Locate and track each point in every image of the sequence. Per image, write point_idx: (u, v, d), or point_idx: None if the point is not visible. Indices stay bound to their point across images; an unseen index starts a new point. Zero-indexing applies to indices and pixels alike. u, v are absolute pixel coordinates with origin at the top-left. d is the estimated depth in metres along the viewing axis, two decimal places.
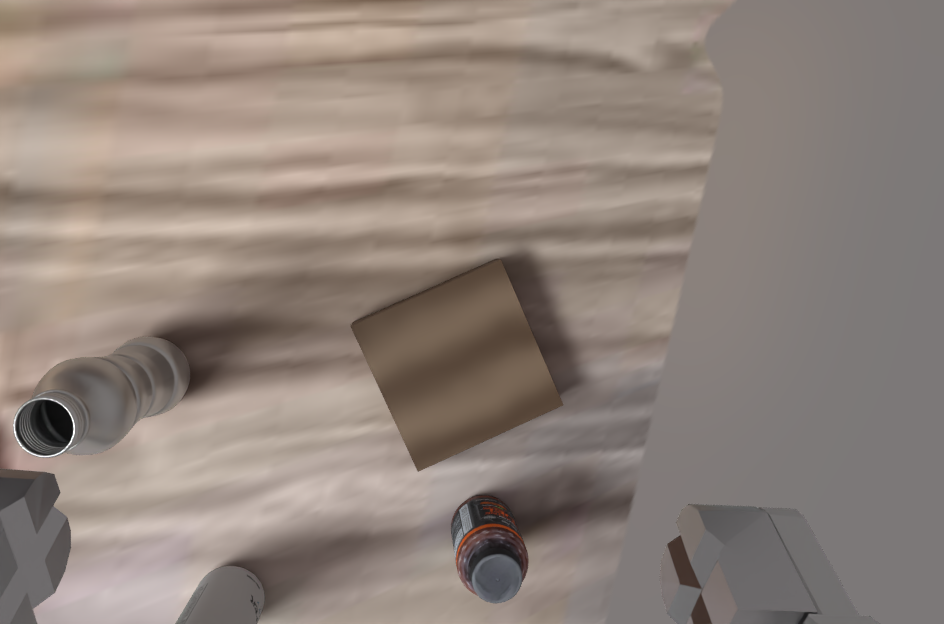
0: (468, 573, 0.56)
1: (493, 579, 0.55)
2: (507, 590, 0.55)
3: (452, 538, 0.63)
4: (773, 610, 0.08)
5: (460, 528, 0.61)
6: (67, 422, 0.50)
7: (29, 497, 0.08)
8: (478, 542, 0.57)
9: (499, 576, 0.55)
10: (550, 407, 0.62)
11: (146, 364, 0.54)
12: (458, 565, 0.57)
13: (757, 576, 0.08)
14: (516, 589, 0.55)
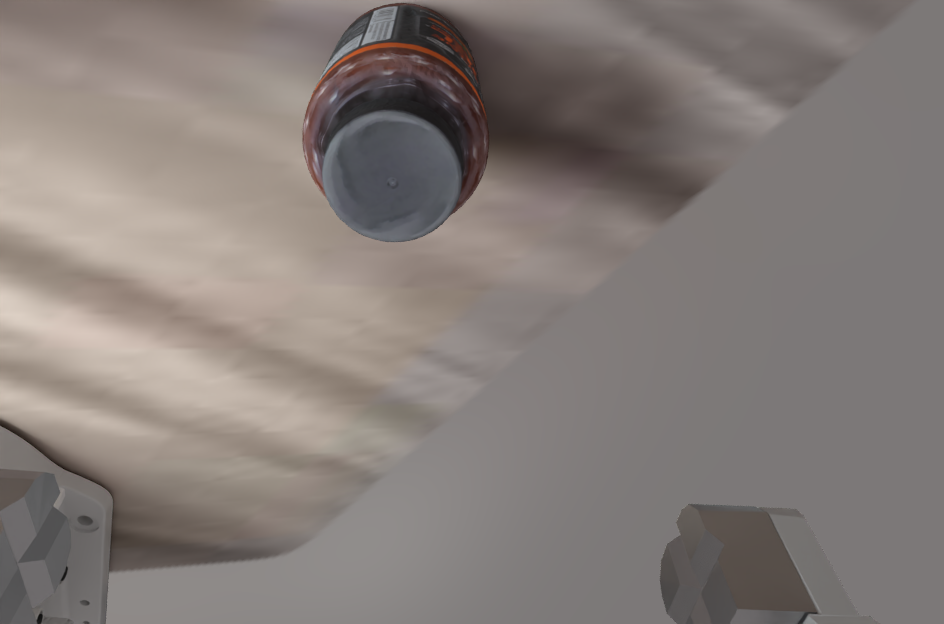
0: (327, 133, 0.21)
1: (382, 176, 0.20)
2: (402, 220, 0.21)
3: None
4: (773, 610, 0.08)
5: (358, 35, 0.24)
6: None
7: (29, 497, 0.08)
8: (389, 73, 0.20)
9: (400, 177, 0.20)
10: None
11: None
12: (312, 103, 0.21)
13: (757, 576, 0.08)
14: (424, 229, 0.21)
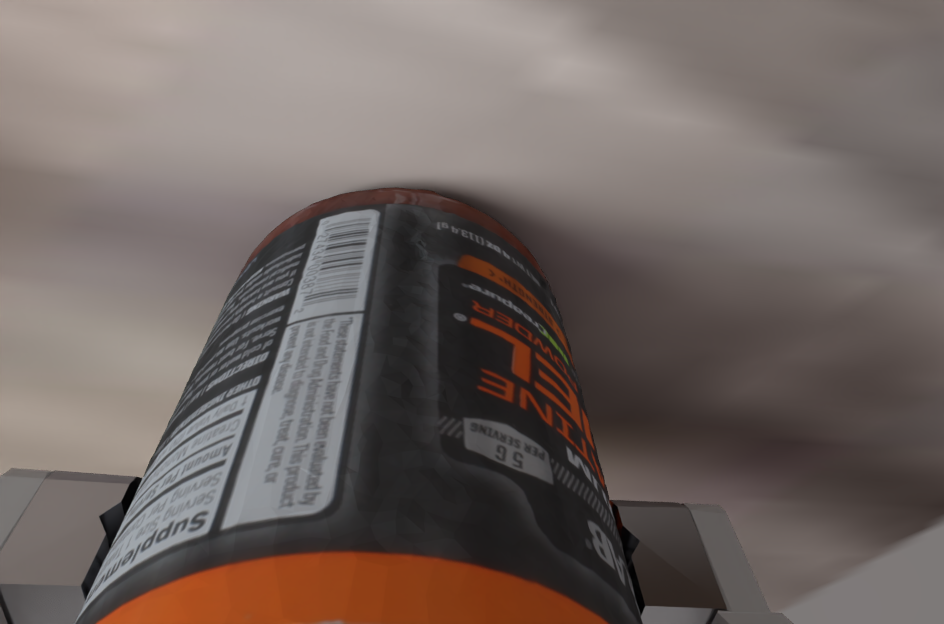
0: None
1: None
2: None
3: (200, 355, 0.10)
4: (682, 607, 0.08)
5: (246, 383, 0.08)
6: None
7: (124, 502, 0.08)
8: None
9: None
10: None
11: None
12: None
13: (670, 572, 0.08)
14: None
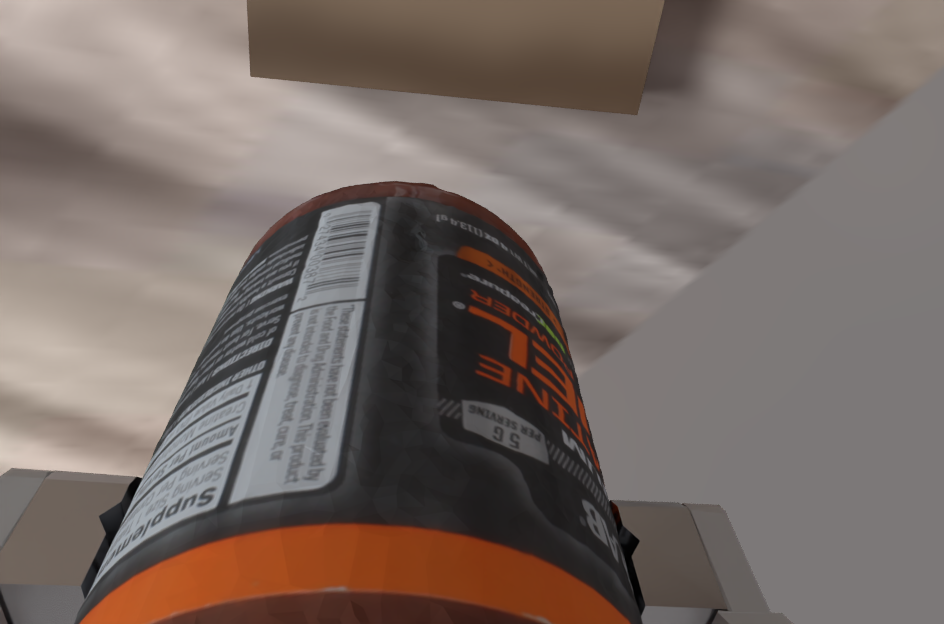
0: None
1: None
2: None
3: None
4: (682, 607, 0.08)
5: (251, 368, 0.08)
6: None
7: (124, 501, 0.08)
8: None
9: None
10: (609, 104, 0.26)
11: None
12: None
13: (670, 573, 0.08)
14: None
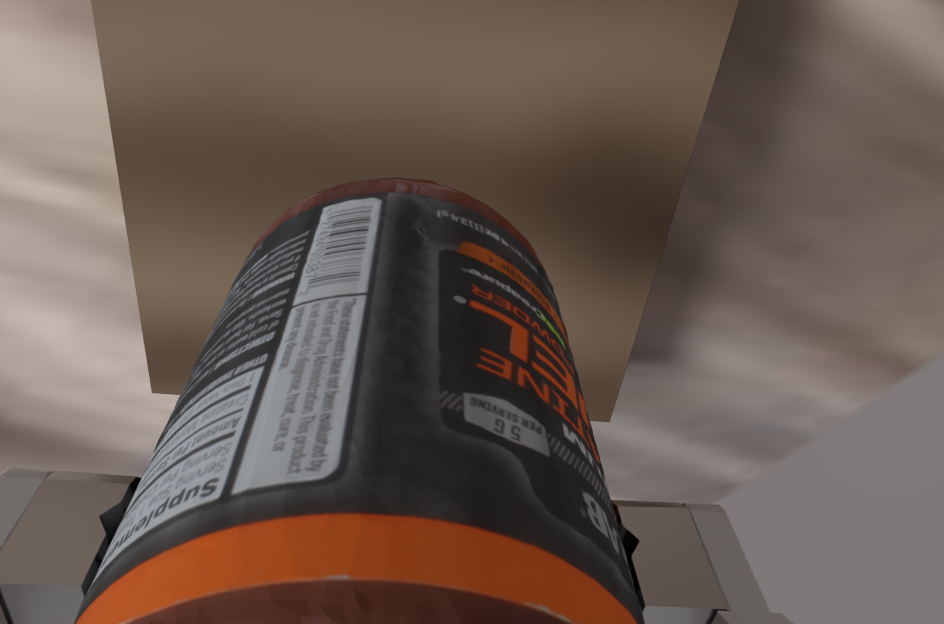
0: None
1: None
2: None
3: None
4: (682, 607, 0.08)
5: (253, 362, 0.08)
6: None
7: (124, 501, 0.08)
8: None
9: None
10: None
11: None
12: None
13: (669, 573, 0.08)
14: None
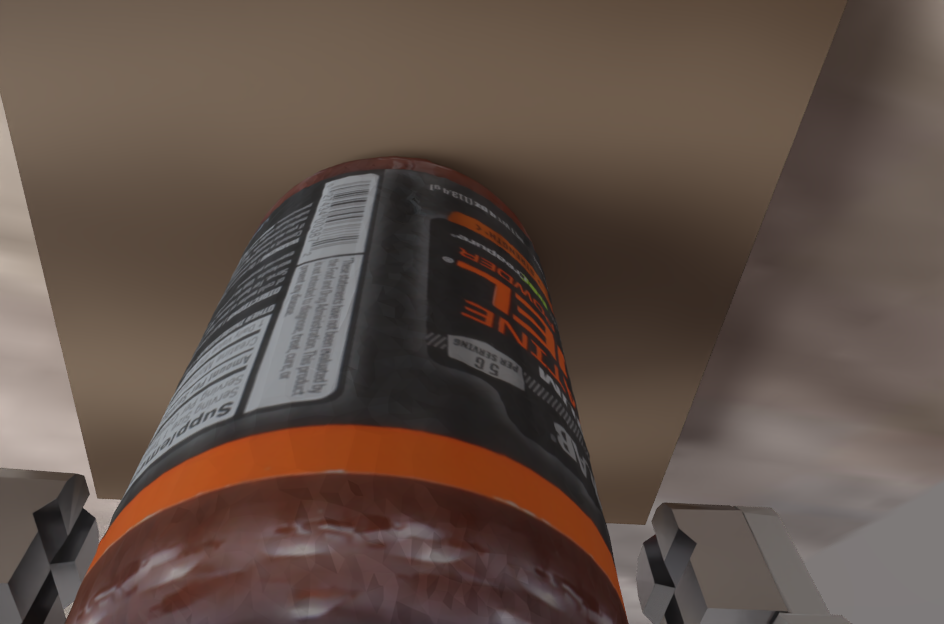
0: None
1: None
2: None
3: None
4: (743, 609, 0.08)
5: (262, 311, 0.09)
6: None
7: (61, 499, 0.08)
8: (315, 614, 0.06)
9: None
10: (606, 515, 0.19)
11: None
12: None
13: (729, 575, 0.08)
14: None
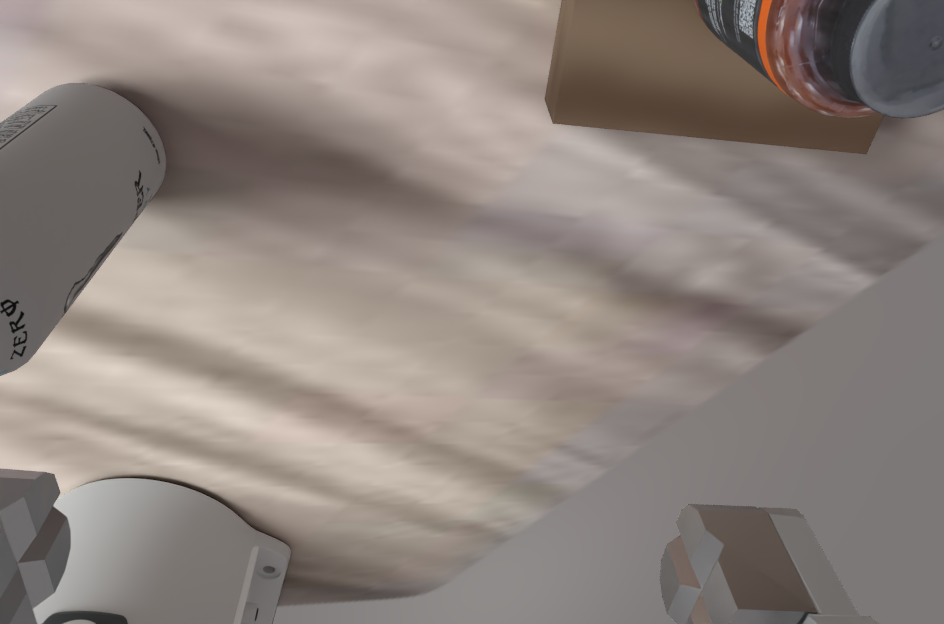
0: None
1: (927, 35, 0.17)
2: (927, 89, 0.18)
3: None
4: (773, 610, 0.08)
5: None
6: None
7: (29, 497, 0.08)
8: None
9: None
10: (844, 145, 0.31)
11: None
12: None
13: (757, 576, 0.08)
14: None
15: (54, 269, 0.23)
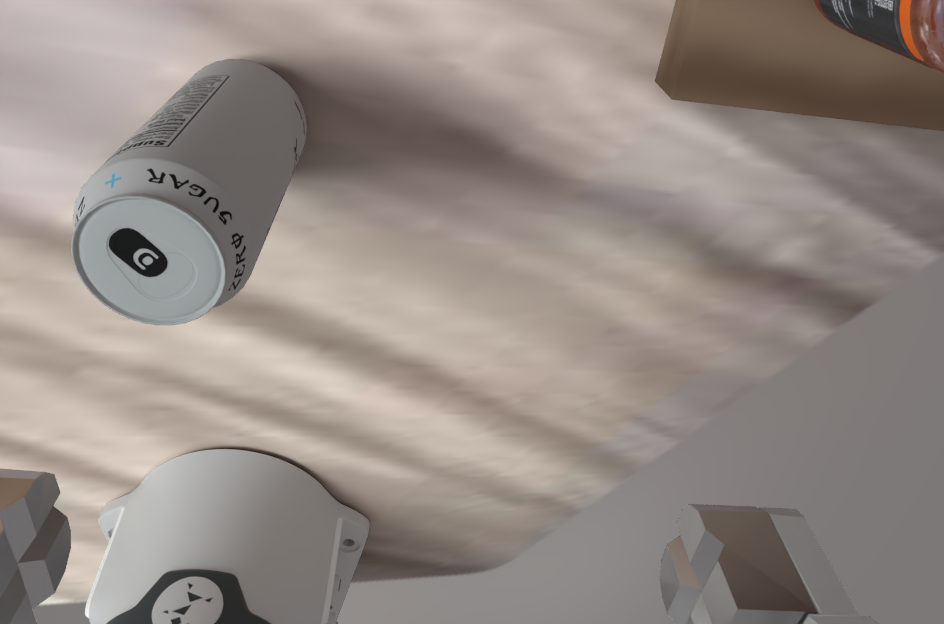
0: None
1: None
2: None
3: None
4: (773, 610, 0.08)
5: None
6: None
7: (29, 497, 0.08)
8: None
9: None
10: (929, 123, 0.34)
11: None
12: None
13: (757, 576, 0.08)
14: None
15: (261, 212, 0.26)
